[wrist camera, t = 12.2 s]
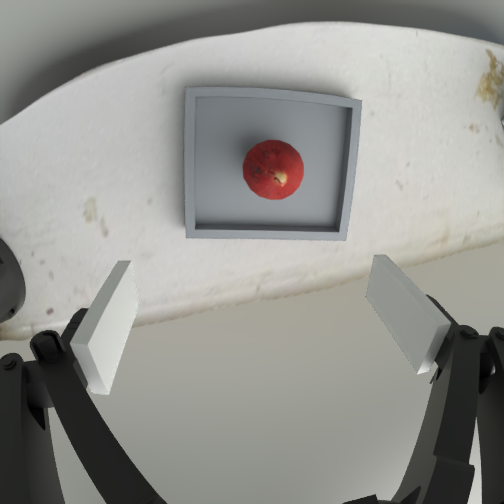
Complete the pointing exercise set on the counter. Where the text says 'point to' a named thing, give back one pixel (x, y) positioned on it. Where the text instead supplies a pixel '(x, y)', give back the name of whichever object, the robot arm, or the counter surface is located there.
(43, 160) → the counter surface
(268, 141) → the onion
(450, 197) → the counter surface
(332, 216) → the tray
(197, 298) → the counter surface
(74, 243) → the counter surface
